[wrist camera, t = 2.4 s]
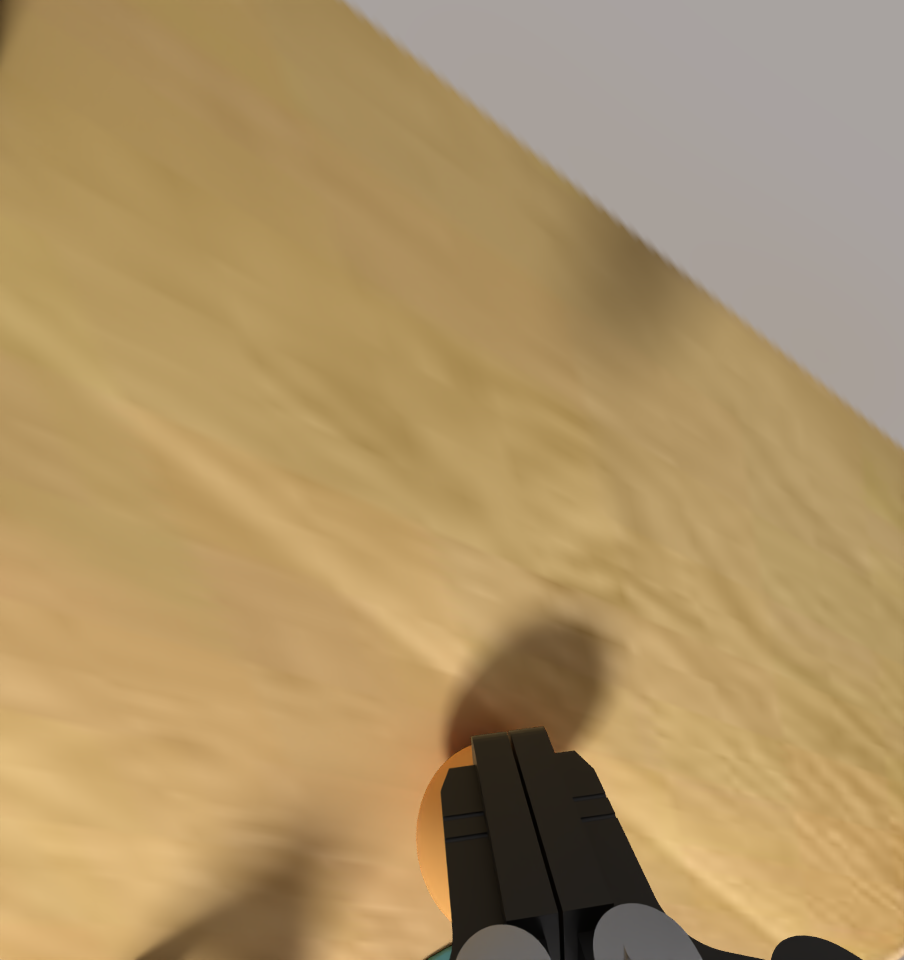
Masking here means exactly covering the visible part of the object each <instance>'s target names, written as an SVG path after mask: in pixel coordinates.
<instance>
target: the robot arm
mask: <svg viewBox="0 0 904 960" xmlns="http://www.w3.org/2000/svg"><path fill="white" fill-rule="evenodd" d="M471 745H472V758H473V765H469V766H462V767H455V768H449V770H448V772H447V775H446V778H445V780H444V783H443V786H442V788H441V791H440V793H441V804H442V816H443V827H444V839H445V850H446V862H447V873H448V884H449V896H450V907H451V919H452V930H453V943H452V951H451V955H450V959H449V960H764V959H759V958H754V957H749V956H744V955H739V954H734V953H729V952H725V951H721V950H717V949H714V948H711V947H709V946H707V945H704V944H702V943H700V942H699V941H697V940H695V939H693V938H692V937H690V936H689V935H687V934H686V932H685V931H684V930H683V929H682V928H681V927H680V926H679V925H678V924H677V923H676V922H675V921H674V920H673V919H672V918H670V917H669V916H667V915H666V914H665V912H664V911H663V910H662V908H661V907H660V905H659V903H658V902H657V900H656V898H655V896H654V894H653V892H652V890H651V888H650V885H649V883H648V881H647V879H646V877H645V875H644V873H643V871H642V869H641V867H640V865H639V862H638V860H637V858H636V856H635V854H634V852H633V850H632V848H631V846H630V844H629V841H628V839H627V837H626V835H625V833H624V831H623V829H622V827H621V825H620V823H619V820H618V818H616V816H615V812H614V810H613V808H612V806H611V804H610V802H609V799H608V797H607V798H606V795H605V791H604V789H603V787H602V785H601V783H600V781H599V779H598V776H597V774H596V772H595V770H594V769H593V768H592V767H591V766H590V765H589V764H588V763H587V762H586V761H585V760H584V759H583V758H582V757H581V756H580V755H579V754H577V753H576V752H575V751H568V752H561V753H555V752H554V750H553V747H552V745H551V742H550V740H549V737H548V735H547V732H546V730H545V728H544V727H543V726H541V727H534V728H526V729H519V730H512V731H508V735H507V732H506V731H505V732H498V733H491V734H483V735H476V736H471ZM771 960H862V959H860V958H859V957H857V956H856V955H854V954H852V953H851V952H849V951H847V950H846V949H844V948H842V947H840V946H838V945H836V944H834V943H832V942H829V941H827V940H824V939H821V938H817V937H812V936H794V937H790V938H787V939H785V940H783V941H782V942H780V943H779V944H778V945H777V946H776V948H775V950H774V952H773V954H772V958H771Z"/></svg>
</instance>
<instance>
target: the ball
mask: <svg viewBox="0 0 904 960" xmlns="http://www.w3.org/2000/svg"><path fill="white" fill-rule="evenodd" d="M469 765H473V758H472V745H471V746H468V747H466V748H464V749H462V750H460V751H459V752H457V753H455V754H454V755H453V756H452V757H450V758H449V759H448V760H447V761H446V762H445V763H444V764H443V765H442V766H441V767H440V768H439V770H438V771H437V772H436V773H435V775H434V777H433V778H432V780H431V782H430V783H429V785H428V787H427V789H426V792H425V794H424V797H423V799H422V802H421V806H420V810H419V815H418V820H417V833H416V842H417V854H418V860H419V864H420V868H421V872H422V876H423V879H424V881H425V883H426V886H427V888H428V890H429V893H430V895H431V896H432V898H433V900H434V901H435V903H436V904H437V906H438V908H439V909H440V910H441V911H442V912H443V914H444V915H445V916H446V917H447V918H448V919H449V920H450V921H451V922H452V919H451V907H450V896H449V884H448V873H447V862H446V850H445V839H444V827H443V816H442V804H441V793H440V791H441V788H442V786H443V783H444V780H445V778H446V775H447V772H448V770H449V768H455V767H462V766H469Z"/></svg>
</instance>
